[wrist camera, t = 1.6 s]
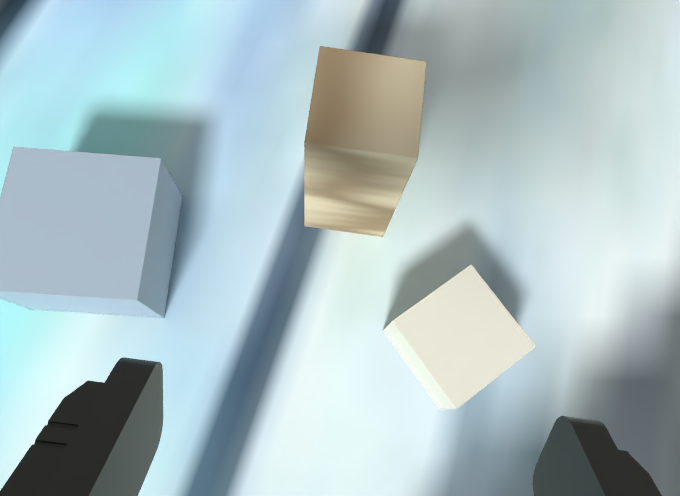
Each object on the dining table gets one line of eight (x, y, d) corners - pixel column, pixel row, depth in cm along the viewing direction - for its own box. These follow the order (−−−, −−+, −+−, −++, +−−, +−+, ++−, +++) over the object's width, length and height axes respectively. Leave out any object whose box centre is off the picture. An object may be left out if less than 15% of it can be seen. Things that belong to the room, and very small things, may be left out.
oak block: (390, 165, 32) (426, 61, 23) (382, 236, 31) (417, 158, 21) (315, 155, 32) (319, 45, 23) (304, 226, 31) (304, 142, 21)
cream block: (509, 354, 30) (536, 346, 26) (438, 409, 28) (456, 408, 25) (452, 280, 31) (471, 264, 27) (382, 331, 29) (392, 320, 26)
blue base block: (183, 197, 31) (160, 158, 26) (164, 318, 29) (137, 300, 24) (58, 188, 31) (13, 146, 26) (31, 309, 29) (-24, 289, 24)
